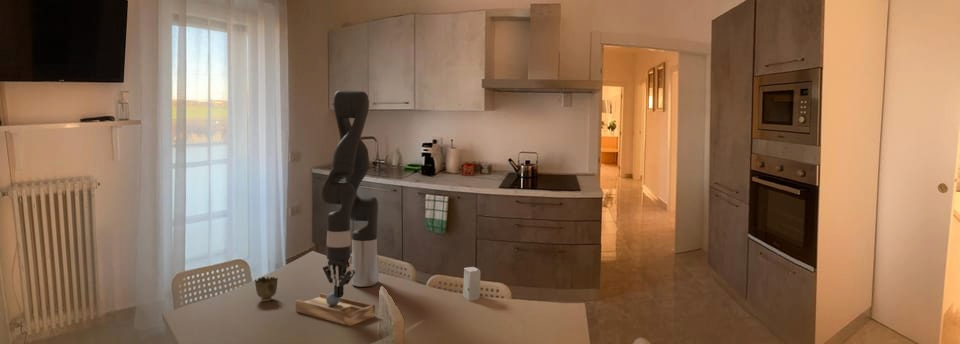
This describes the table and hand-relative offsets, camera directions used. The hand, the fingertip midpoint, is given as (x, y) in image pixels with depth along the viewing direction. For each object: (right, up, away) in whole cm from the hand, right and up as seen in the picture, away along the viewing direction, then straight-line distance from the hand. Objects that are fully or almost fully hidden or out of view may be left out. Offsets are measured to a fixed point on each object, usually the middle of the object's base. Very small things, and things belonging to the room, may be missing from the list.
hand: (338, 296), depth 176 cm
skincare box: (+43, -6, +16) cm, 46 cm away
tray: (-2, -6, +2) cm, 6 cm away
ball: (-2, -1, +2) cm, 3 cm away
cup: (-29, -5, +14) cm, 33 cm away
